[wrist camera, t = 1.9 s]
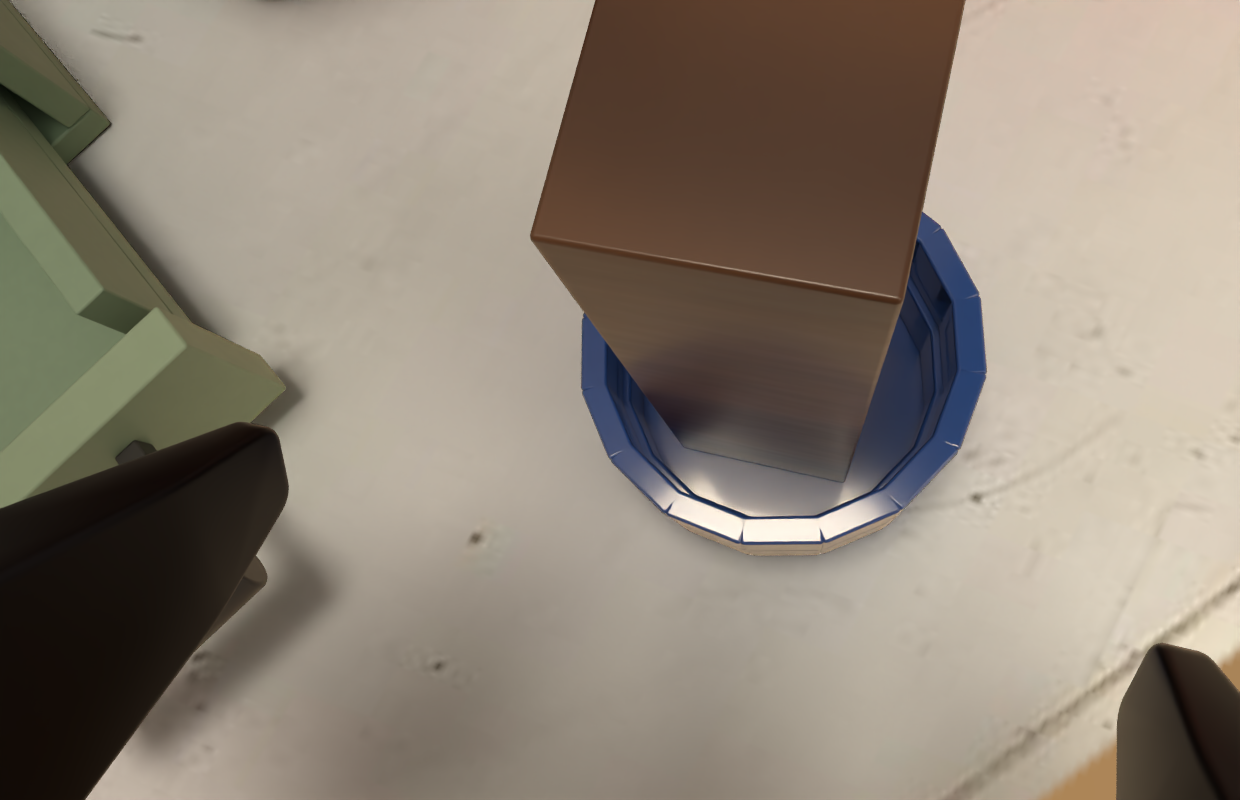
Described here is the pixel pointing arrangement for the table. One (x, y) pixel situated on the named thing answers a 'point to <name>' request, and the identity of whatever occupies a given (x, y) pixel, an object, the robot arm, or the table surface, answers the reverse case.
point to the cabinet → (45, 88)
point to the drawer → (98, 341)
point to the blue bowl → (885, 453)
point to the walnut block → (749, 208)
